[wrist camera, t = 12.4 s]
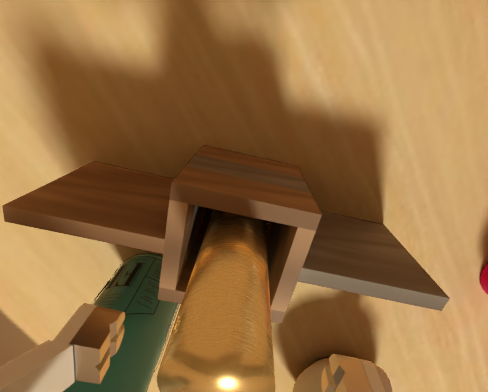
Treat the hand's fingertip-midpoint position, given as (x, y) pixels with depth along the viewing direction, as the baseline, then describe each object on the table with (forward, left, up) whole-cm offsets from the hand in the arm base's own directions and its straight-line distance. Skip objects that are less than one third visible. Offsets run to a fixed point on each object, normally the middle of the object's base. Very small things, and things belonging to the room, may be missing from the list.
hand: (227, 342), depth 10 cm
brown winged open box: (0, 0, -14) cm, 14 cm away
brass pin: (0, 0, -15) cm, 15 cm away
